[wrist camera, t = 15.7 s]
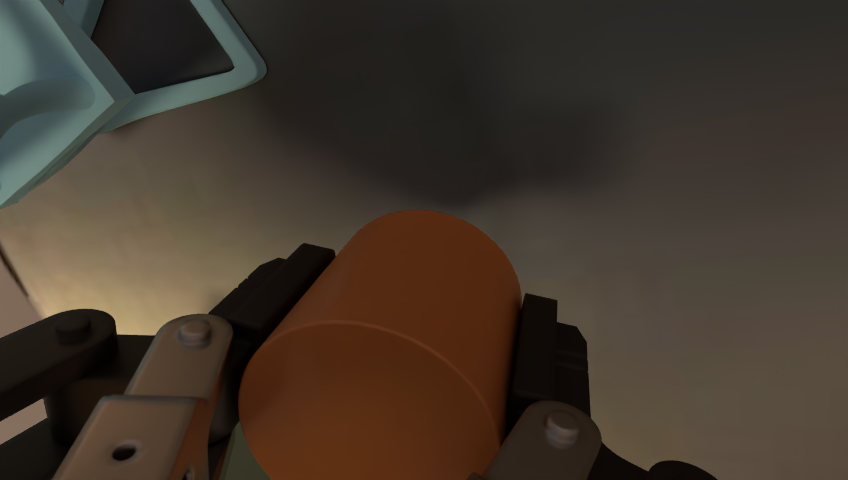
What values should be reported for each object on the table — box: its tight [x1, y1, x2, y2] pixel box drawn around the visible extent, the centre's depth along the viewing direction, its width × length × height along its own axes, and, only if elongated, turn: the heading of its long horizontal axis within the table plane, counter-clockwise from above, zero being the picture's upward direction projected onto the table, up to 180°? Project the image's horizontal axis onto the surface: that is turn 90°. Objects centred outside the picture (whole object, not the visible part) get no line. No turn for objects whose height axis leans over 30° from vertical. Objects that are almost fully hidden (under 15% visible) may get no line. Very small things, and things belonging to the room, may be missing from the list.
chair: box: [0, 0, 267, 209], centre depth 17 cm, size 8×8×12 cm
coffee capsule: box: [238, 210, 522, 480], centre depth 12 cm, size 5×5×5 cm
